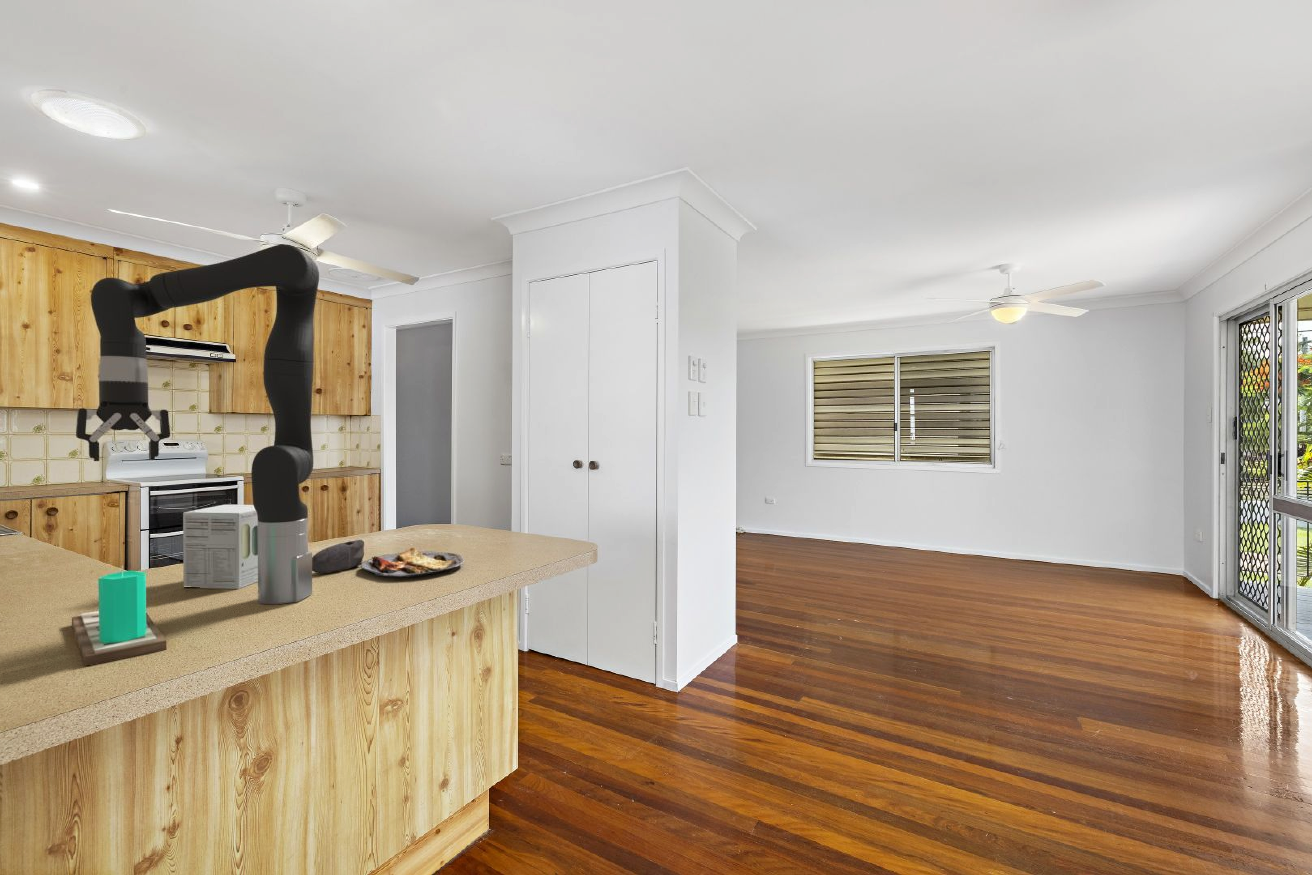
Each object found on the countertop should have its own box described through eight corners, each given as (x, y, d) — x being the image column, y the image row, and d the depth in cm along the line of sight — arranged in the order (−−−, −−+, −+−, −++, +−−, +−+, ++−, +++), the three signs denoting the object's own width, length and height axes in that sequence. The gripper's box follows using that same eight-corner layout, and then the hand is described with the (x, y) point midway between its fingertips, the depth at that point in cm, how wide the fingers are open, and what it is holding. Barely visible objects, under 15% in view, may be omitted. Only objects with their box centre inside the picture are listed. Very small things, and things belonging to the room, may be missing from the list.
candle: (118, 644, 99) (117, 571, 99) (89, 641, 100) (88, 568, 100) (155, 631, 105) (154, 562, 104) (128, 629, 106) (127, 560, 106)
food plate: (343, 569, 157) (344, 556, 157) (423, 554, 176) (424, 542, 176) (400, 588, 143) (400, 573, 142) (480, 570, 162) (481, 556, 162)
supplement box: (239, 589, 138) (238, 512, 138) (182, 588, 138) (181, 512, 138) (276, 574, 151) (276, 504, 151) (224, 573, 152) (224, 503, 151)
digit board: (71, 625, 114) (71, 614, 114) (141, 613, 121) (141, 602, 121) (85, 666, 95) (85, 653, 95) (166, 649, 103) (166, 637, 102)
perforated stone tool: (315, 578, 149) (315, 550, 148) (303, 575, 151) (303, 547, 151) (371, 566, 162) (371, 540, 161) (359, 563, 164) (359, 537, 164)
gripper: (77, 377, 116) (78, 462, 116) (171, 381, 126) (172, 459, 126) (73, 378, 121) (75, 460, 121) (165, 382, 131) (166, 458, 132)
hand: (125, 460), depth 124 cm, fingers open, 8 cm apart
